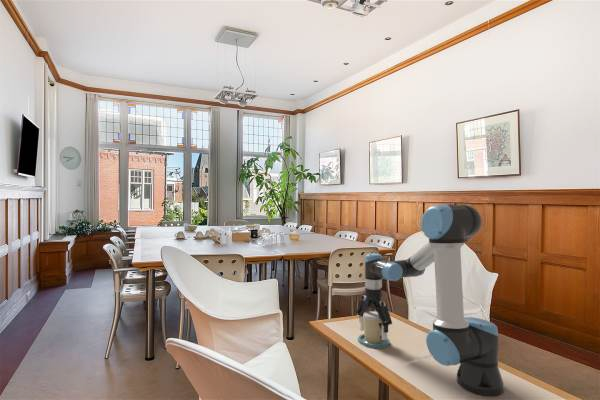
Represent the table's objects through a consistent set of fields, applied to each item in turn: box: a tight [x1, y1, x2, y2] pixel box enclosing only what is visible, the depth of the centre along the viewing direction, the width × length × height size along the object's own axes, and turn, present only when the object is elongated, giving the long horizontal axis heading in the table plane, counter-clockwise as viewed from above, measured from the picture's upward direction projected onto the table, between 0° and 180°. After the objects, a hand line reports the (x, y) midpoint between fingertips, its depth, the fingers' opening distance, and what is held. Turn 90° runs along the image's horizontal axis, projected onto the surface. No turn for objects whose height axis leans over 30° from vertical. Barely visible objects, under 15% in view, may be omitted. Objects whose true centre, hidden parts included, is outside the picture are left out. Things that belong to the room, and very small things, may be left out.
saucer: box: [357, 333, 390, 349], centre depth 165 cm, size 14×14×2 cm
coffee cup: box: [363, 310, 383, 344], centre depth 165 cm, size 9×9×12 cm
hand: (373, 334), depth 165 cm, fingers open, 13 cm apart
